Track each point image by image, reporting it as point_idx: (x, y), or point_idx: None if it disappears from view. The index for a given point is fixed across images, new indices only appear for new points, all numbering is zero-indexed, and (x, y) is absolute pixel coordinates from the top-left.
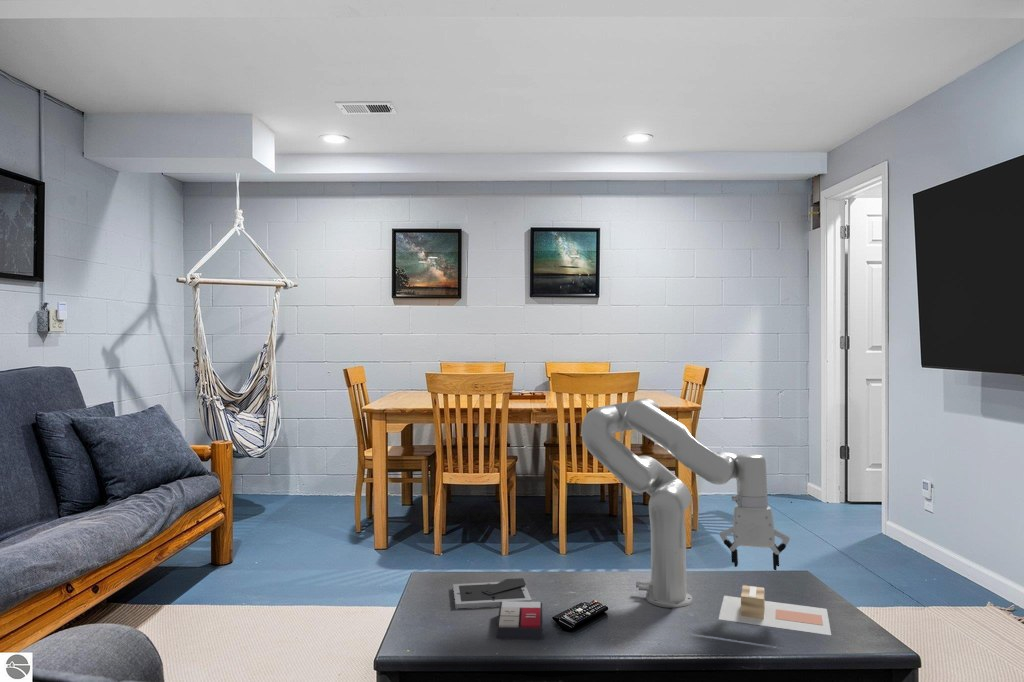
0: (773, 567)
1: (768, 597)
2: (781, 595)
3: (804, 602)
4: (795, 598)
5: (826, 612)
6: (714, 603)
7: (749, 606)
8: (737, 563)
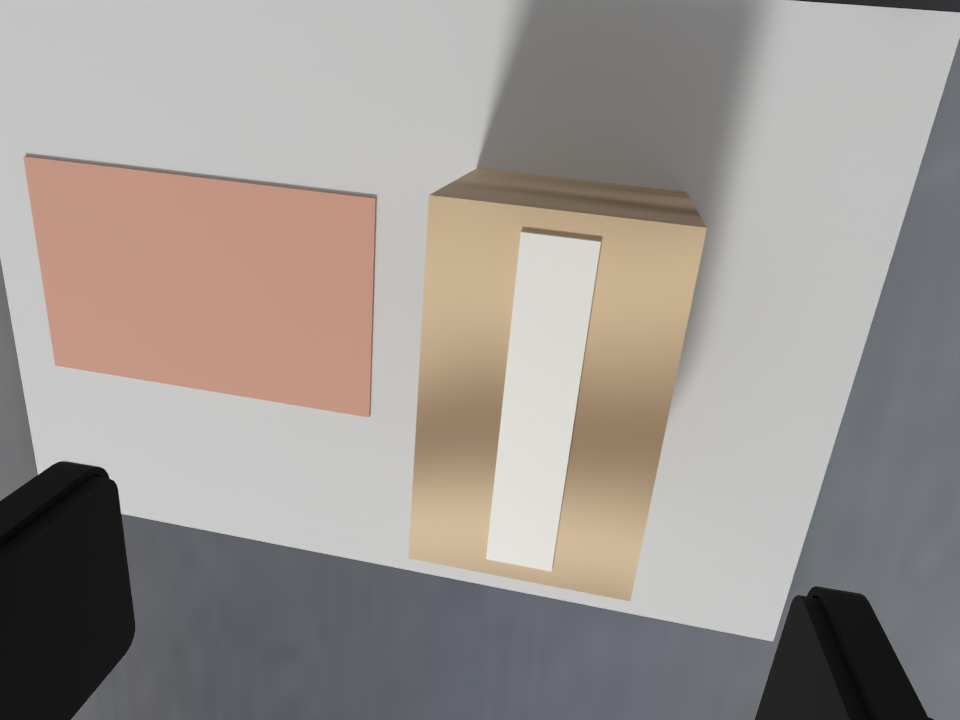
0: (84, 494)
1: (419, 666)
2: (332, 707)
3: (190, 609)
4: (246, 667)
5: (35, 431)
6: (890, 491)
7: (601, 198)
8: (779, 697)
